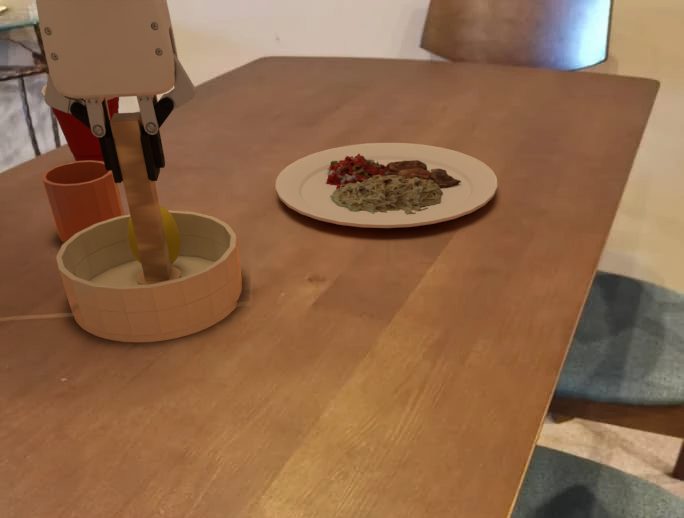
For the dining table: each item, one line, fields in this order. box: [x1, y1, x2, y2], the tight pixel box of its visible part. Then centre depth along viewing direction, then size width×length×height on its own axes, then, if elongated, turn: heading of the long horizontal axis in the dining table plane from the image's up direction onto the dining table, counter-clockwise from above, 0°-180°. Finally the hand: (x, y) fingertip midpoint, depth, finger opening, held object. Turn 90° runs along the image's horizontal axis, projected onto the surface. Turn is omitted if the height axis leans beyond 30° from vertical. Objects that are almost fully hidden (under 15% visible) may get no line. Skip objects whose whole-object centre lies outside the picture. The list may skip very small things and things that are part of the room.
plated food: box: [275, 142, 498, 229], centre depth 98 cm, size 30×30×3 cm
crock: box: [40, 160, 125, 244], centre depth 88 cm, size 8×8×8 cm
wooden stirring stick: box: [110, 111, 182, 285], centre depth 69 cm, size 4×4×17 cm
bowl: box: [55, 209, 243, 344], centre depth 77 cm, size 18×18×6 cm
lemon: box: [128, 205, 181, 265], centre depth 79 cm, size 6×6×8 cm
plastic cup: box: [40, 84, 120, 162], centre depth 104 cm, size 11×11×12 cm
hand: (137, 175), depth 66 cm, fingers closed on wooden stirring stick, 2 cm apart
